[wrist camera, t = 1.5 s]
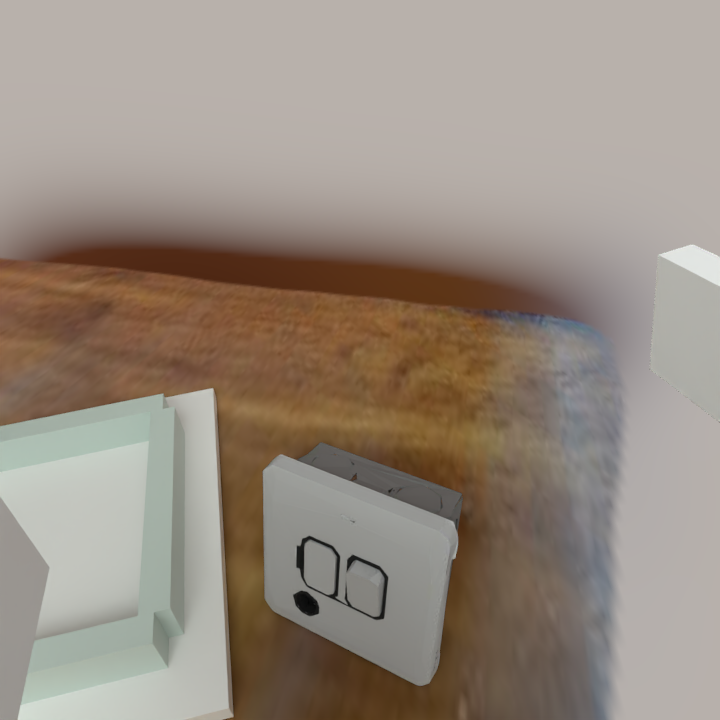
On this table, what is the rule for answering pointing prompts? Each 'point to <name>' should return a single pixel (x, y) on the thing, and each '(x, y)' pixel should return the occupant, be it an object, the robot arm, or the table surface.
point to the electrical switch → (361, 556)
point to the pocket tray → (125, 559)
